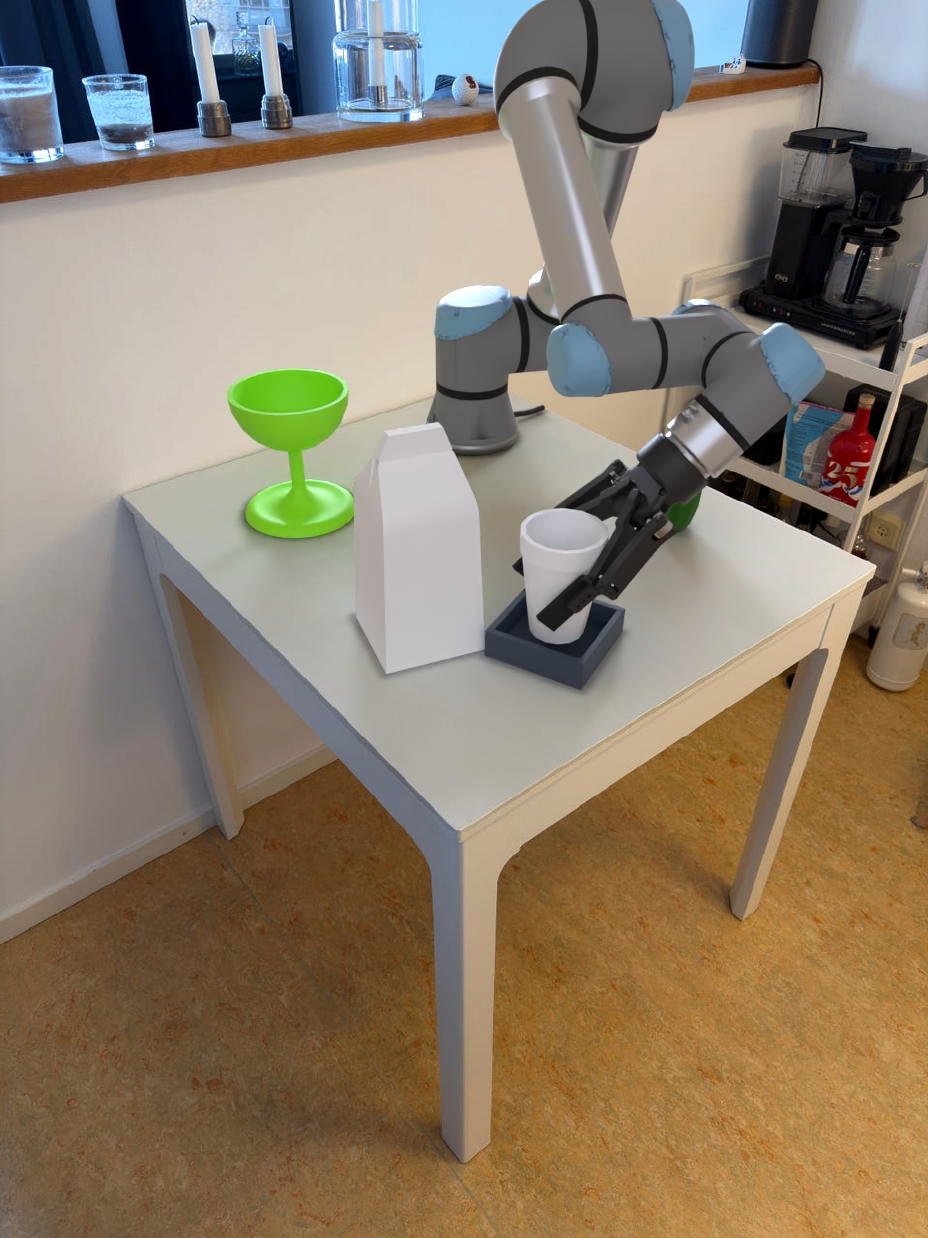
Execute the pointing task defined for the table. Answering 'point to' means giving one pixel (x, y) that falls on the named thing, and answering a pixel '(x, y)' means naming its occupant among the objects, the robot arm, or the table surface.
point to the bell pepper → (683, 513)
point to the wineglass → (293, 447)
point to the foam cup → (558, 564)
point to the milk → (417, 551)
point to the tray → (550, 660)
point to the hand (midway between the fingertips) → (532, 597)
